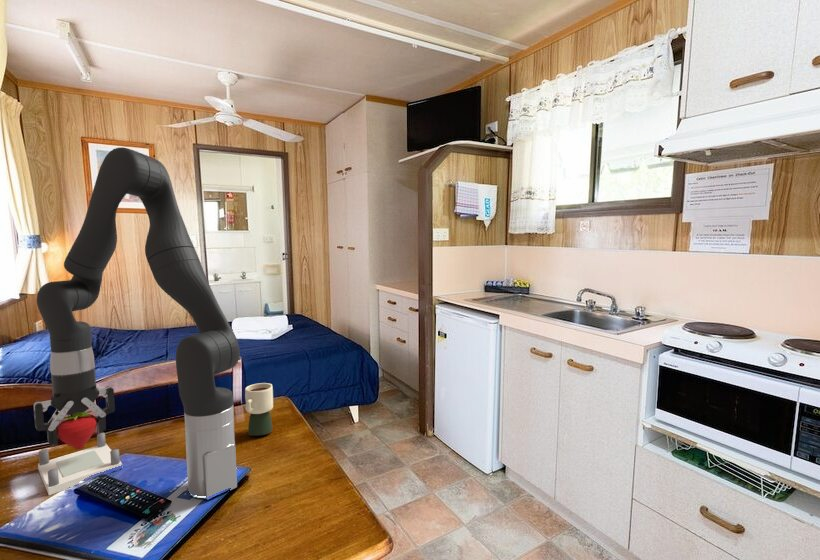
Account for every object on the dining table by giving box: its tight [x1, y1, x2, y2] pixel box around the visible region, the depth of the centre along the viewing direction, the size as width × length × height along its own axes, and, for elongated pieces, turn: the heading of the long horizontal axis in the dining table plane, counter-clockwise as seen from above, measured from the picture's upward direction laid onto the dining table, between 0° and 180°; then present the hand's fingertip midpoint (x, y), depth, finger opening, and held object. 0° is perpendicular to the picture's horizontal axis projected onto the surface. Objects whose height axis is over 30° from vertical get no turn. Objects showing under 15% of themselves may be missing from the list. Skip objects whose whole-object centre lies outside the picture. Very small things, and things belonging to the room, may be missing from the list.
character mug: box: [244, 382, 274, 437], centre depth 108 cm, size 11×7×13 cm, turn 169°
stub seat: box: [37, 432, 123, 496], centre depth 90 cm, size 15×13×4 cm
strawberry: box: [56, 410, 98, 450], centre depth 90 cm, size 6×8×10 cm
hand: (78, 438), depth 90 cm, fingers closed on strawberry, 7 cm apart
